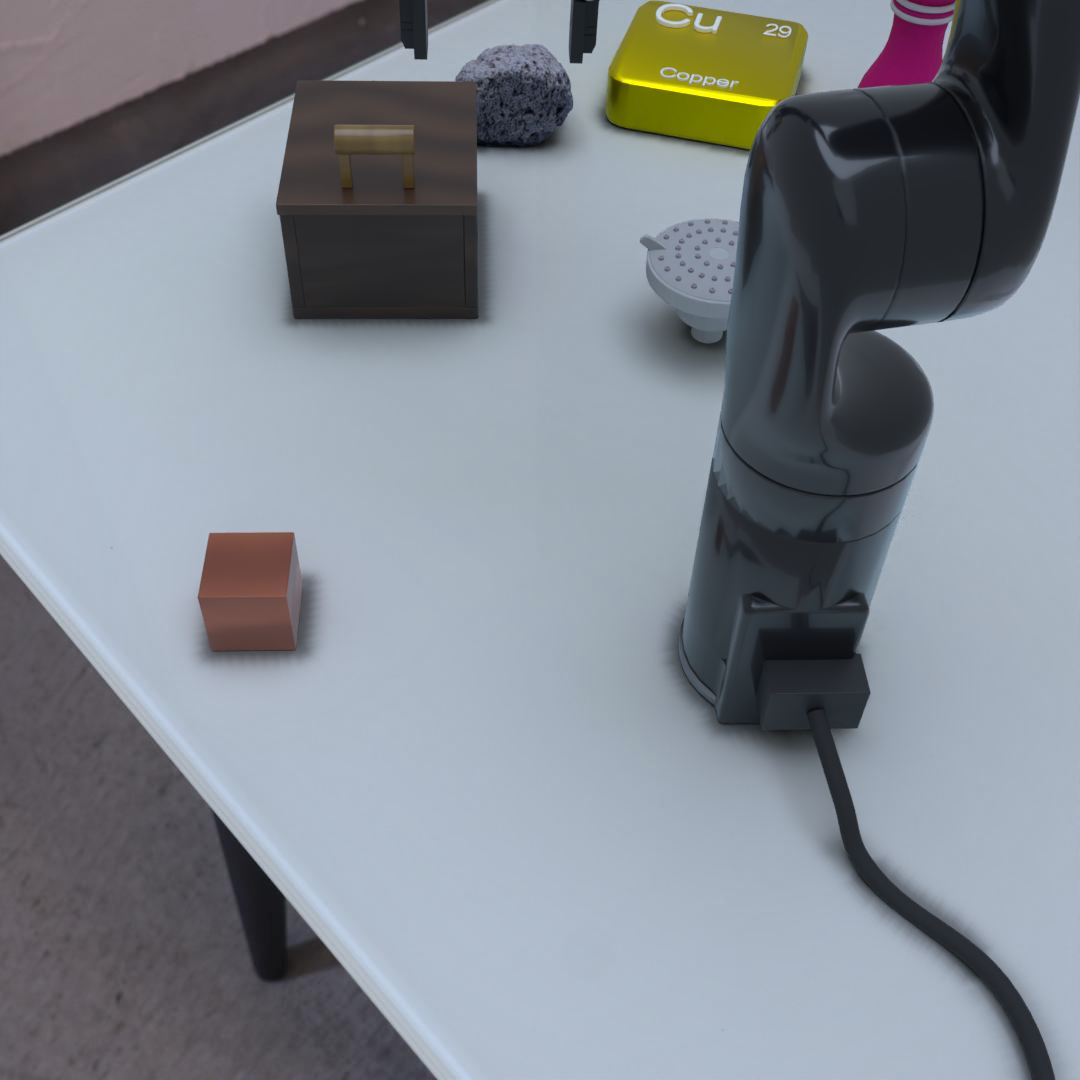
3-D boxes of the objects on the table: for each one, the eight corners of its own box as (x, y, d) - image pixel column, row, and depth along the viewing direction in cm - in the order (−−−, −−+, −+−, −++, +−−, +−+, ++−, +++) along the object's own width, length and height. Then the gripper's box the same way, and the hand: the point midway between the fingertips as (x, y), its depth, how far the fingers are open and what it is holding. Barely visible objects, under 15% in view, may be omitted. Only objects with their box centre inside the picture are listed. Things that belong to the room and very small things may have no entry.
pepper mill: (944, 148, 108) (1016, -102, 93) (912, 188, 104) (982, -67, 89) (863, 121, 111) (921, -126, 96) (828, 160, 107) (883, -93, 92)
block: (295, 650, 72) (286, 596, 68) (211, 651, 72) (197, 597, 68) (303, 586, 75) (294, 531, 71) (221, 586, 75) (208, 532, 71)
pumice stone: (481, 117, 114) (433, 142, 106) (489, 24, 110) (439, 42, 102) (593, 141, 111) (552, 168, 103) (605, 46, 107) (563, 67, 99)
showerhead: (650, 195, 90) (797, 216, 88) (641, 282, 95) (779, 302, 94) (629, 277, 83) (786, 300, 82) (620, 365, 89) (768, 387, 88)
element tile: (599, 125, 109) (602, 71, 106) (638, 42, 119) (643, -10, 115) (777, 156, 107) (787, 102, 103) (803, 68, 116) (813, 16, 113)
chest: (478, 318, 92) (477, 209, 85) (293, 318, 91) (278, 208, 84) (477, 198, 101) (476, 92, 95) (311, 197, 101) (298, 90, 94)
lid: (477, 215, 84) (476, 146, 81) (277, 215, 84) (267, 145, 80) (476, 91, 95) (475, 25, 91) (298, 90, 94) (290, 23, 91)
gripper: (341, -249, 58) (365, 88, 70) (663, -239, 58) (631, 93, 71) (353, -306, 63) (374, 18, 75) (650, -296, 63) (622, 24, 75)
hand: (499, 54), depth 73 cm, fingers open, 8 cm apart
